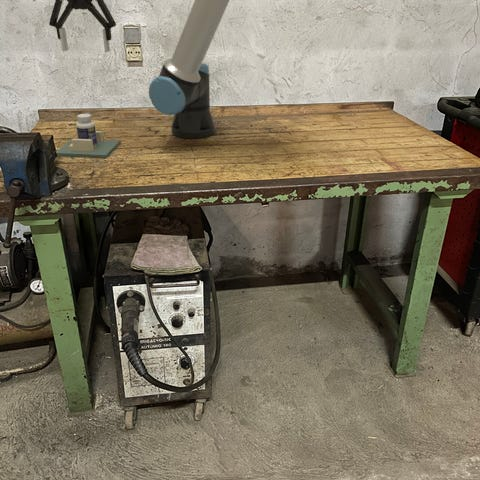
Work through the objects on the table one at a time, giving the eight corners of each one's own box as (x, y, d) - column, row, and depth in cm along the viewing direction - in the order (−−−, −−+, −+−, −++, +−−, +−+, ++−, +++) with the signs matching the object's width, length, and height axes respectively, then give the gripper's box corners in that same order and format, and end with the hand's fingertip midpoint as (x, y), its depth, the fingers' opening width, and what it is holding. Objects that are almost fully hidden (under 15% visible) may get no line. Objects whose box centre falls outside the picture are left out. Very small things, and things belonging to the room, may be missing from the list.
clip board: (120, 143, 161) (119, 129, 159) (106, 158, 149) (104, 143, 147) (73, 141, 162) (71, 127, 160) (54, 156, 150) (52, 141, 148)
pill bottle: (92, 149, 152) (88, 118, 148) (76, 148, 153) (71, 117, 148) (100, 144, 157) (96, 113, 152) (84, 143, 158) (79, 112, 153)
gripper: (121, -26, 148) (128, 50, 159) (40, -27, 150) (53, 48, 161) (113, -25, 142) (121, 53, 152) (29, -26, 144) (42, 52, 154)
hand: (86, 51), depth 156 cm, fingers open, 13 cm apart
